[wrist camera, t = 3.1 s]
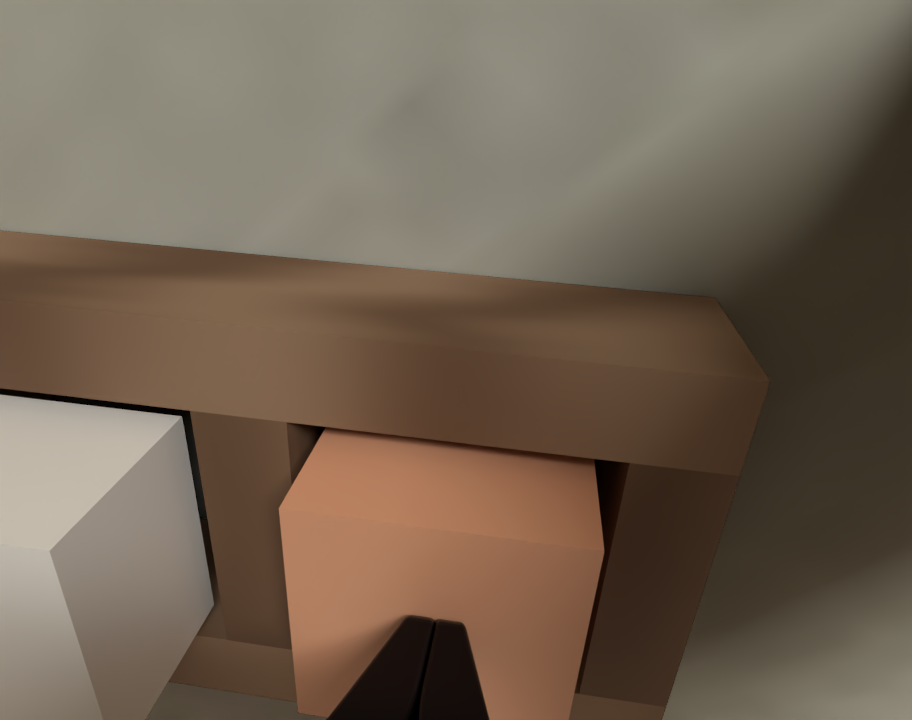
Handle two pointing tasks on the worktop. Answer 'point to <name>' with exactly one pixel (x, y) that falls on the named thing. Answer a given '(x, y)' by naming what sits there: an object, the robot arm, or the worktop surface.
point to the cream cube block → (95, 559)
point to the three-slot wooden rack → (403, 416)
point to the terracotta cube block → (442, 563)
